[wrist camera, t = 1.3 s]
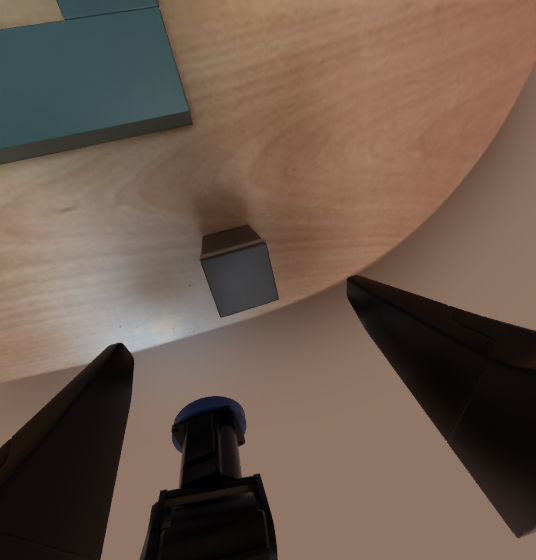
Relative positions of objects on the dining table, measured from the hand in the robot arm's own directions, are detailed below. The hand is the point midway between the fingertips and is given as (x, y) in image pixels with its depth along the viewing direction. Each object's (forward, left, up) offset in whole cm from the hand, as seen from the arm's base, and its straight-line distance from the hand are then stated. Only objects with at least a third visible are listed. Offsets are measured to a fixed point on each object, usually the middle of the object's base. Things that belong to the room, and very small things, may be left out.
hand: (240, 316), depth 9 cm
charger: (-1, -1, -13) cm, 13 cm away
